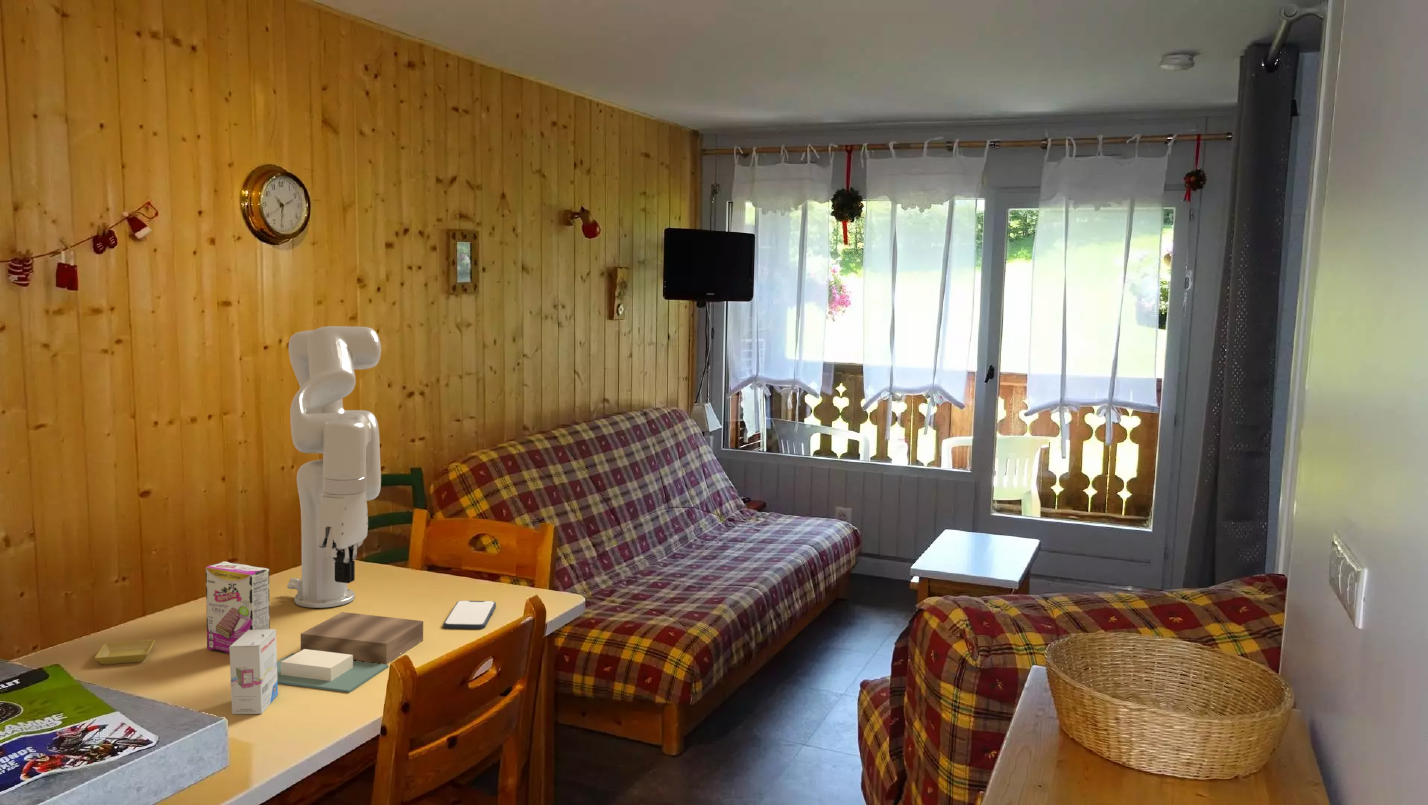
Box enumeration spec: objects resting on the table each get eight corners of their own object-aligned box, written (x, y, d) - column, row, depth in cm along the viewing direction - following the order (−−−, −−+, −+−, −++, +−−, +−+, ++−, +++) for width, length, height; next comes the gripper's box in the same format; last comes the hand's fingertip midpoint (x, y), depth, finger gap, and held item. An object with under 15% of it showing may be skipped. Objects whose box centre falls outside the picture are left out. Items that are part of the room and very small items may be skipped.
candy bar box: (205, 650, 196) (203, 566, 195) (225, 642, 201) (224, 560, 199) (252, 659, 193) (251, 573, 191) (271, 650, 197) (270, 567, 196)
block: (300, 653, 196) (300, 633, 196) (342, 631, 210) (342, 611, 210) (386, 664, 193) (386, 643, 192) (423, 640, 206) (423, 621, 206)
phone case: (484, 632, 214) (497, 607, 230) (484, 625, 214) (497, 600, 230) (441, 631, 214) (457, 606, 230) (441, 624, 214) (457, 599, 229)
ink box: (248, 694, 177) (247, 627, 175) (278, 694, 177) (278, 627, 176) (229, 714, 168) (228, 644, 167) (261, 714, 169) (260, 644, 167)
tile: (304, 648, 191) (304, 661, 191) (280, 661, 184) (280, 674, 185) (352, 654, 189) (352, 667, 189) (330, 668, 182) (330, 681, 183)
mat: (248, 679, 183) (248, 677, 183) (292, 655, 196) (292, 653, 196) (349, 692, 179) (349, 690, 179) (388, 666, 191) (388, 664, 191)
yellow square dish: (104, 653, 194) (104, 642, 194) (156, 649, 197) (155, 638, 197) (94, 669, 186) (94, 657, 186) (148, 664, 189) (147, 653, 189)
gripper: (349, 476, 200) (349, 568, 202) (302, 492, 185) (302, 590, 188) (384, 480, 198) (383, 572, 200) (339, 495, 184) (339, 595, 186)
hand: (344, 581), depth 194 cm, fingers closed
